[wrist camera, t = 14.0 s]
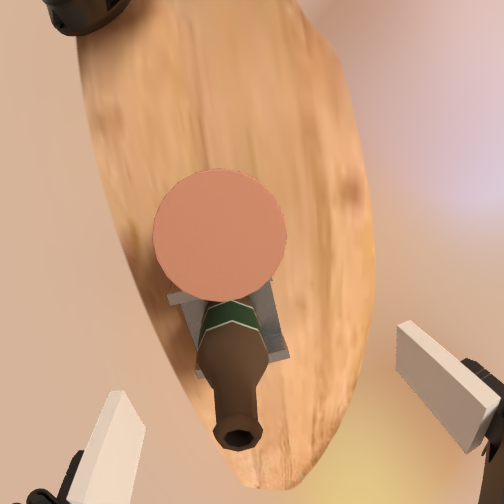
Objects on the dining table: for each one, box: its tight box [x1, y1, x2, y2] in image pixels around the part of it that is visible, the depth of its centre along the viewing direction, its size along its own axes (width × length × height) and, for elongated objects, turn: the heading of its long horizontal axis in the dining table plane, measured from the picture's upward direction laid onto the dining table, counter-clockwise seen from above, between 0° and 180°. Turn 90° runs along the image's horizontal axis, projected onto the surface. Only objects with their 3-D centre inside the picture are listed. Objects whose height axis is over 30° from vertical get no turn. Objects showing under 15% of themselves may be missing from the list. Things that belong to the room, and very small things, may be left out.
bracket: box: [167, 277, 290, 379], centre depth 40 cm, size 13×13×6 cm
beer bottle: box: [197, 296, 269, 452], centre depth 30 cm, size 8×8×24 cm
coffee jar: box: [152, 168, 287, 302], centre depth 32 cm, size 11×11×18 cm
